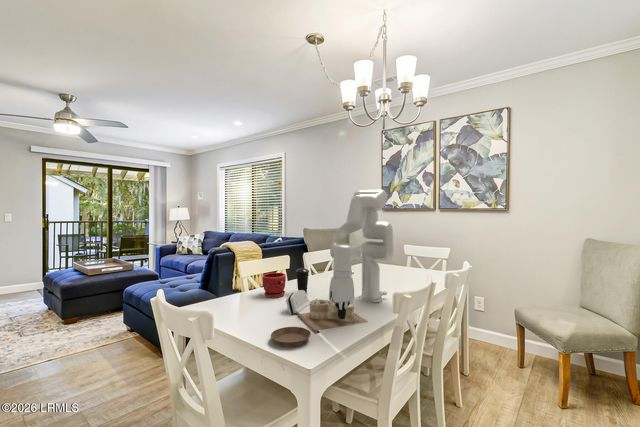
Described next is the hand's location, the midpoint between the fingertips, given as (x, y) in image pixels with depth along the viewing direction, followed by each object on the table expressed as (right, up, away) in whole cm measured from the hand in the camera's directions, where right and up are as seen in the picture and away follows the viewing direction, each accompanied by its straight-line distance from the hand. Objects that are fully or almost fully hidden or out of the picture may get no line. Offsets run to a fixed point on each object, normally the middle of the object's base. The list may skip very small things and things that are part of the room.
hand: (341, 318), depth 130 cm
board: (-4, -3, +6) cm, 8 cm away
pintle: (-10, -3, +10) cm, 14 cm away
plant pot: (-35, -3, +45) cm, 57 cm away
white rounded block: (-20, -3, +21) cm, 29 cm away
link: (-4, -2, +7) cm, 8 cm away
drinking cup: (-19, -3, +48) cm, 52 cm away
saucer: (-20, -4, -15) cm, 25 cm away
